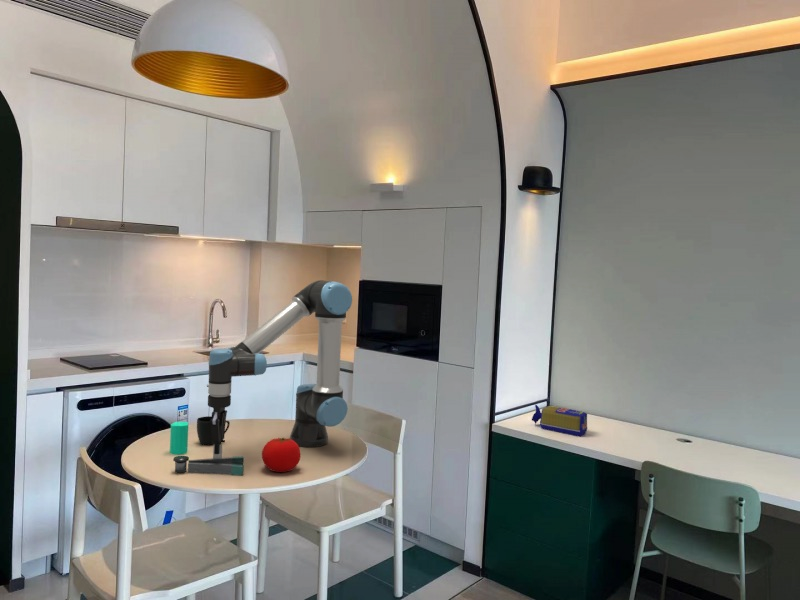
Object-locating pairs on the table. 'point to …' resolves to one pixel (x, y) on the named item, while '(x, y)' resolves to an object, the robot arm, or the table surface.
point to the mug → (206, 430)
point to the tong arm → (221, 460)
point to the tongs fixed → (206, 467)
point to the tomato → (281, 454)
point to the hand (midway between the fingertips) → (217, 462)
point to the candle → (179, 438)
